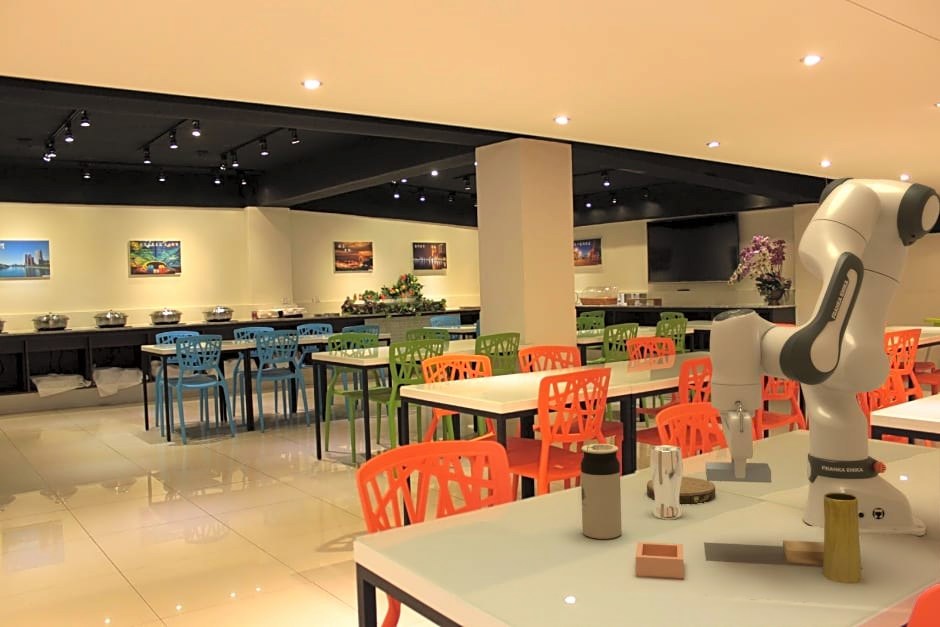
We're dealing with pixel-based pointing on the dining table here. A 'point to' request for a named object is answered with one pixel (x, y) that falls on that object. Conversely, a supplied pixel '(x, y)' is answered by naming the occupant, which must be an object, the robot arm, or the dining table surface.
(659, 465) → the beer glass
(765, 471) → the slate board
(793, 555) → the oak board
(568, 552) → the dining table surface
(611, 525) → the travel mug
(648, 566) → the orange frame
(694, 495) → the wood slice coaster
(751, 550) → the mat
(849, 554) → the vase
